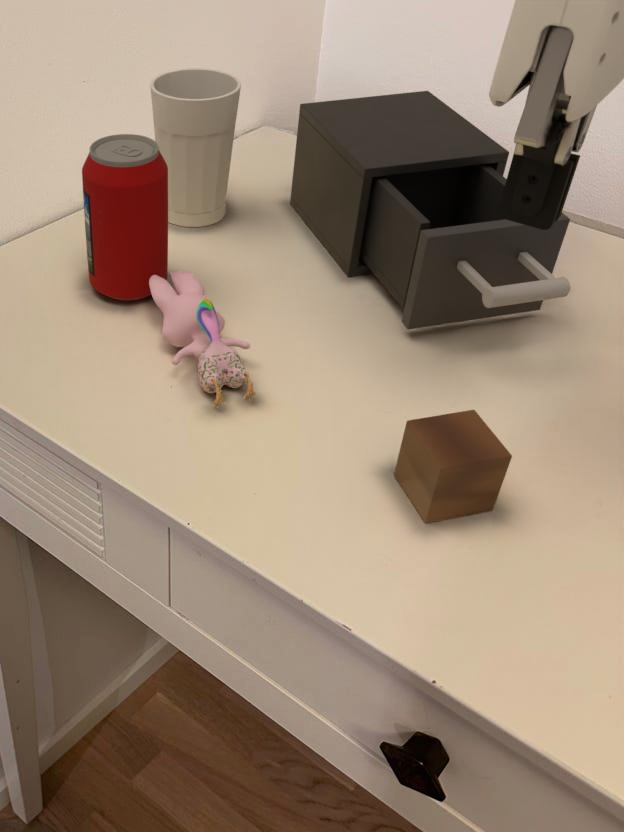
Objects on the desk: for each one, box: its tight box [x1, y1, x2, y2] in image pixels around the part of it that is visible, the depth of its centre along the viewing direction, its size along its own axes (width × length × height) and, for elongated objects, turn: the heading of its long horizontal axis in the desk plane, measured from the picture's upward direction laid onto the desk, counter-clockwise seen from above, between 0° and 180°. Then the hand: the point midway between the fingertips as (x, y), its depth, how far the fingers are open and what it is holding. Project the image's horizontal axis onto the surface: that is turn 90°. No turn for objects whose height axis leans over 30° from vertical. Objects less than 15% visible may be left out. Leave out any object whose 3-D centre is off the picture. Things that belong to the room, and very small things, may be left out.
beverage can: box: [81, 133, 169, 302], centre depth 72 cm, size 7×7×12 cm
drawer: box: [359, 164, 571, 330], centre depth 70 cm, size 19×11×8 cm, turn 13°
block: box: [393, 409, 513, 524], centre depth 55 cm, size 5×5×5 cm
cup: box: [149, 67, 242, 228], centre depth 82 cm, size 8×8×12 cm
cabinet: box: [289, 90, 510, 277], centre depth 79 cm, size 15×13×10 cm
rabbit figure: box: [149, 270, 256, 410], centre depth 67 cm, size 6×6×15 cm
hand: (527, 218), depth 53 cm, fingers closed
